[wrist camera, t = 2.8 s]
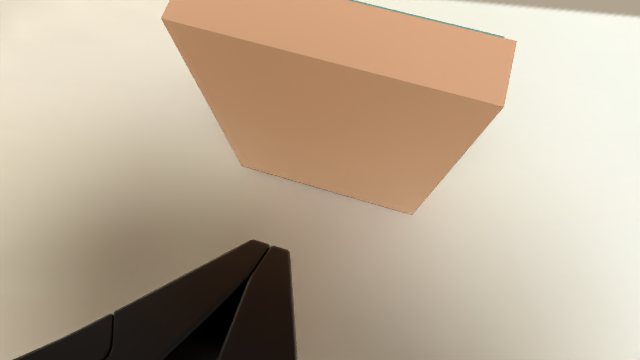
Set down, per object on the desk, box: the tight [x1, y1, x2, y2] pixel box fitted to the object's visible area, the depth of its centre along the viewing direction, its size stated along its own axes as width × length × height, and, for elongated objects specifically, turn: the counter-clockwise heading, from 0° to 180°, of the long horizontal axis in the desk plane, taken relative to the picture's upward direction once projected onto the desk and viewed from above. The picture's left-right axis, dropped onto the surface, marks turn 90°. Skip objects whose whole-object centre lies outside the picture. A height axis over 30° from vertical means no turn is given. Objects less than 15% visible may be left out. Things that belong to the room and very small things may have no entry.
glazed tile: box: [161, 0, 517, 215], centre depth 13 cm, size 2×7×9 cm, turn 73°
